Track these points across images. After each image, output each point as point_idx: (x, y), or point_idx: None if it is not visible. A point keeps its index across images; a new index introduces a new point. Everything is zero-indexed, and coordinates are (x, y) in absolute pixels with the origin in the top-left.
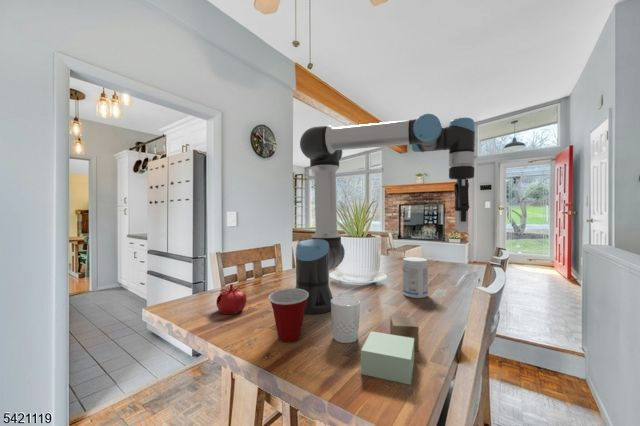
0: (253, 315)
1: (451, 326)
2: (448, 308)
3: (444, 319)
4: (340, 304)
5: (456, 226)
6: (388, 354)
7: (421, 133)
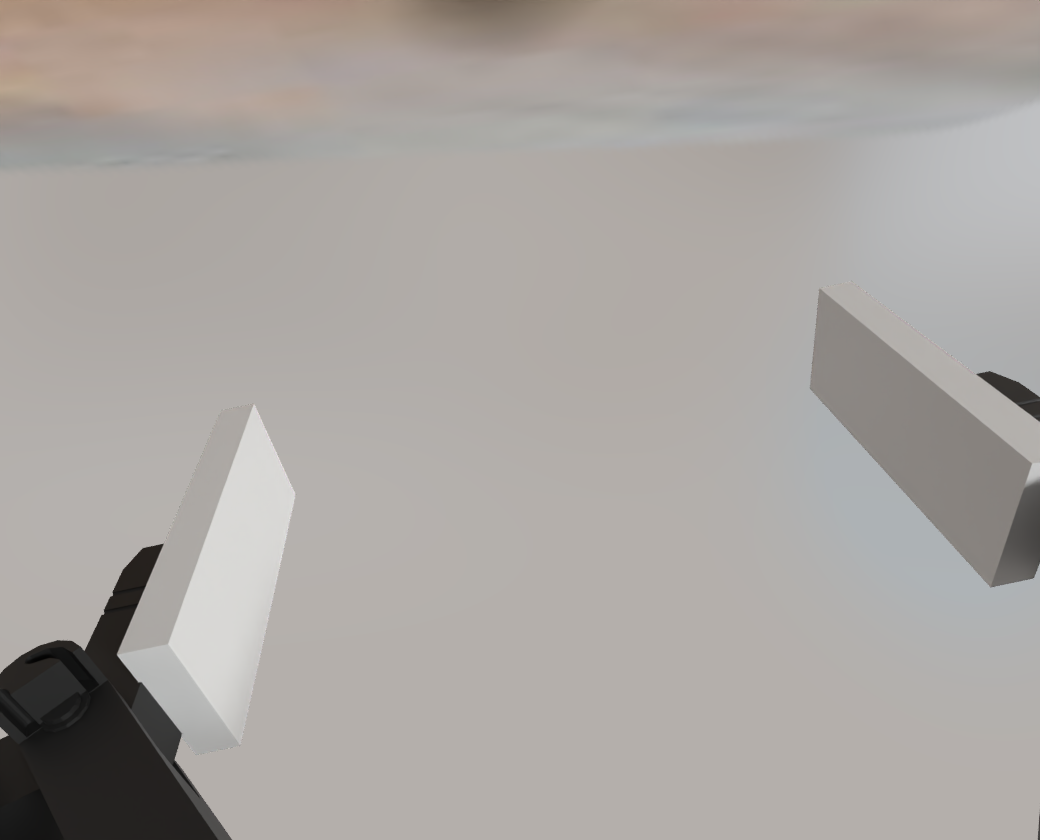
0: None
1: (223, 119)
2: (525, 59)
3: (306, 66)
4: None
5: (840, 328)
6: None
7: None
